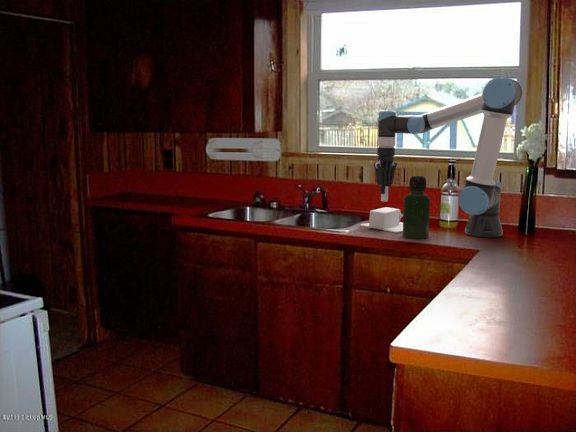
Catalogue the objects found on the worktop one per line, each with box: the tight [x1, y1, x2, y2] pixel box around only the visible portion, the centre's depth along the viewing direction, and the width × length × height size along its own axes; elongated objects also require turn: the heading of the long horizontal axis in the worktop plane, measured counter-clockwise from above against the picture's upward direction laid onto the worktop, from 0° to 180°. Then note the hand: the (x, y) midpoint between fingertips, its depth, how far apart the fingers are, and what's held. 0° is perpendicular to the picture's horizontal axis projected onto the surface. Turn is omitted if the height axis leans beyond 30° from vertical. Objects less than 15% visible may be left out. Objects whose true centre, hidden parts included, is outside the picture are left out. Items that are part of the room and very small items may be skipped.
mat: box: [359, 221, 403, 234], centre depth 280 cm, size 22×20×1 cm
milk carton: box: [368, 206, 403, 230], centre depth 280 cm, size 7×7×19 cm
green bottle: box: [402, 175, 431, 240], centre depth 256 cm, size 10×10×25 cm
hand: (384, 201), depth 273 cm, fingers closed
